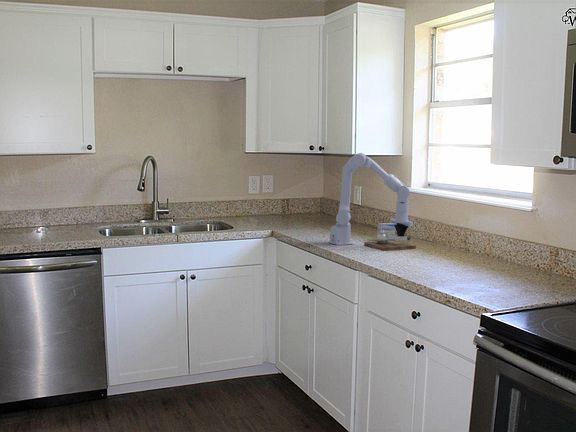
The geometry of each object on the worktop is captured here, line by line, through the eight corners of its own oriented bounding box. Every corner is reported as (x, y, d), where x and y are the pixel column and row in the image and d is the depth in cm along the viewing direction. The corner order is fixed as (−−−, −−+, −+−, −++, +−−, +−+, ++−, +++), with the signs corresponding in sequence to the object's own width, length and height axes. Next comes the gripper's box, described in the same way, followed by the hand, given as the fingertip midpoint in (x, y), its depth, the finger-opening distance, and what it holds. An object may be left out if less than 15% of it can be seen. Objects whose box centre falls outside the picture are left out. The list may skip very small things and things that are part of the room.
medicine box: (380, 241, 327) (381, 224, 326) (376, 240, 331) (377, 223, 330) (394, 241, 329) (395, 224, 328) (391, 239, 333) (392, 222, 332)
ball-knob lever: (376, 243, 310) (377, 231, 309) (377, 242, 314) (377, 230, 314) (410, 245, 307) (410, 233, 306) (410, 244, 312) (410, 232, 311)
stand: (384, 250, 300) (385, 247, 300) (364, 245, 314) (364, 241, 314) (415, 248, 309) (415, 245, 309) (394, 243, 323) (394, 239, 323)
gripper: (418, 212, 306) (417, 241, 308) (399, 209, 319) (397, 237, 320) (407, 213, 303) (405, 242, 304) (387, 209, 315) (386, 237, 317)
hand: (400, 239), depth 312 cm, fingers closed
